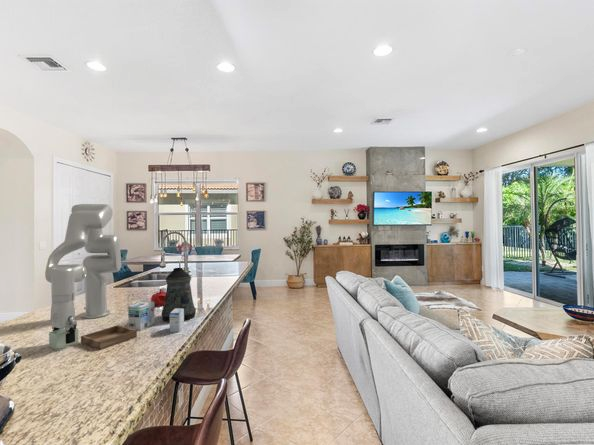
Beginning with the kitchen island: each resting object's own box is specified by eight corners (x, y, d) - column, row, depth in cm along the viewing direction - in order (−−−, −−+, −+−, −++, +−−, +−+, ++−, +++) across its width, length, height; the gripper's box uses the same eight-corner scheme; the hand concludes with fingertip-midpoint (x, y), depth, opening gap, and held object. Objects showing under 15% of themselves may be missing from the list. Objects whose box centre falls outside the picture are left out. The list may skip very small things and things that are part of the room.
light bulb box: (140, 330, 151) (140, 307, 151) (127, 329, 153) (127, 306, 153) (155, 323, 162) (155, 301, 162) (143, 322, 163) (142, 300, 163)
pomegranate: (147, 306, 193) (146, 290, 192) (159, 302, 202) (159, 286, 202) (160, 307, 189) (160, 291, 189) (173, 303, 199) (172, 287, 198)
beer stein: (177, 324, 160) (176, 272, 159) (150, 318, 169) (149, 269, 169) (202, 315, 174) (202, 267, 174) (176, 310, 183) (176, 265, 183)
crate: (80, 343, 136) (80, 336, 136) (117, 331, 150) (117, 325, 150) (100, 349, 130) (100, 342, 129) (136, 337, 143) (136, 330, 143)
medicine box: (174, 326, 157) (174, 308, 156) (184, 326, 157) (184, 308, 157) (169, 332, 149) (169, 313, 149) (179, 332, 149) (179, 312, 149)
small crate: (49, 347, 132) (49, 332, 132) (71, 340, 139) (70, 326, 139) (56, 350, 130) (56, 334, 130) (78, 343, 137) (78, 328, 137)
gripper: (41, 297, 135) (42, 339, 135) (64, 302, 127) (65, 347, 127) (62, 294, 142) (62, 334, 142) (85, 298, 133) (85, 341, 133)
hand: (63, 340), depth 134 cm, fingers open, 9 cm apart
